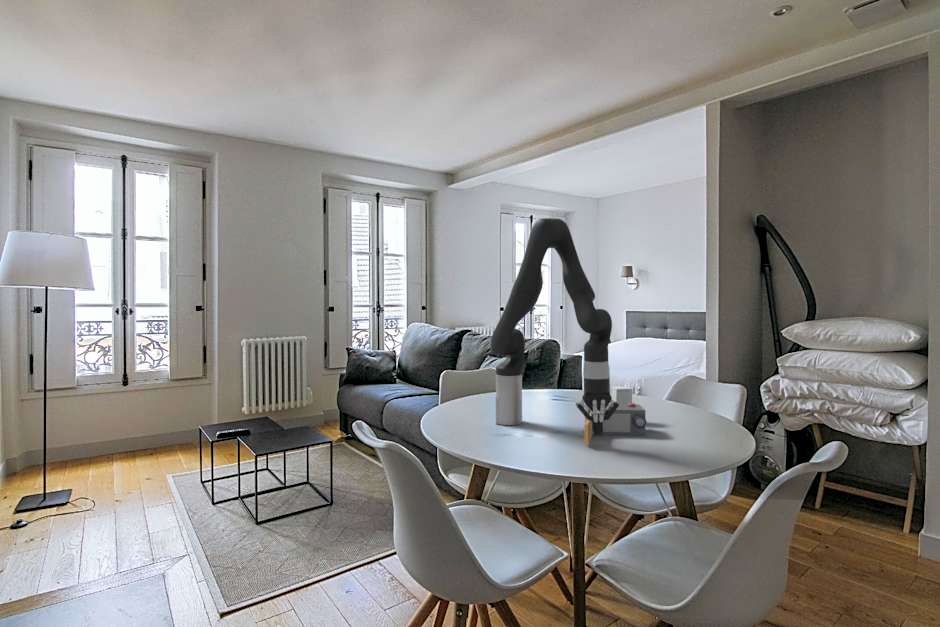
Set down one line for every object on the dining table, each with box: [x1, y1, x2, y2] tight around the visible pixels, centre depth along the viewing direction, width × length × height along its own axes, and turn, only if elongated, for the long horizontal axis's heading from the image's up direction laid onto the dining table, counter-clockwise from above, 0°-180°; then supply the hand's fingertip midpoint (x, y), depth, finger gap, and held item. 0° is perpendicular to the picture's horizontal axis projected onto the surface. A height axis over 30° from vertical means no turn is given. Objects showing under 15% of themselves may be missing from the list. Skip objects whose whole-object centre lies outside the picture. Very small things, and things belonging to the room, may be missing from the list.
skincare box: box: [611, 386, 633, 404], centre depth 182 cm, size 6×4×12 cm
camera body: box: [584, 402, 647, 436], centre depth 168 cm, size 18×11×9 cm, turn 84°
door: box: [581, 412, 595, 446], centre depth 158 cm, size 15×2×7 cm, turn 160°
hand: (597, 433), depth 152 cm, fingers closed
